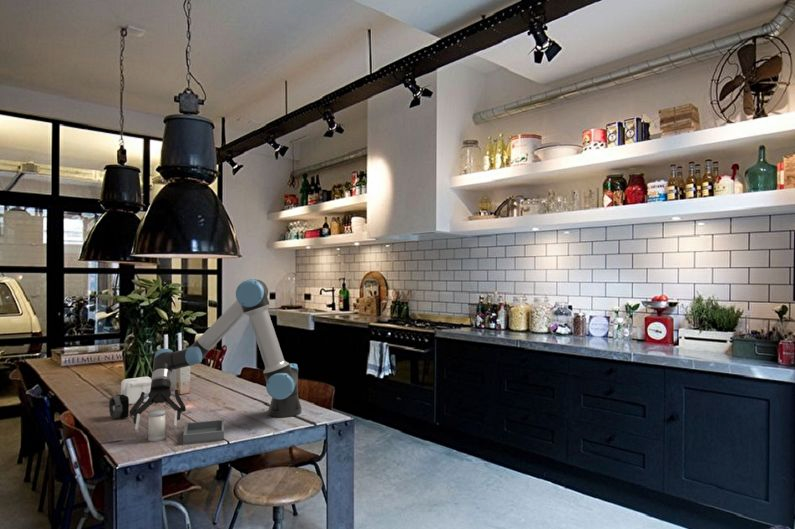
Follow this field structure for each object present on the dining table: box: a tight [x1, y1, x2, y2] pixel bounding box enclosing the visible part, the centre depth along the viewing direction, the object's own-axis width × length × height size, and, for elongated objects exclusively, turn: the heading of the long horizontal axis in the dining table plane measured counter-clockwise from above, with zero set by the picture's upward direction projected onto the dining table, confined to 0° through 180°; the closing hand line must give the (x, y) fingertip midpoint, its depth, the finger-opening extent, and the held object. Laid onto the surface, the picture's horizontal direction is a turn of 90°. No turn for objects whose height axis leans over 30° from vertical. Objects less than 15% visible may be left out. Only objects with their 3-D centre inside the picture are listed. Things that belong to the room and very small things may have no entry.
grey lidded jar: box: [147, 408, 166, 443], centre depth 193 cm, size 6×6×11 cm
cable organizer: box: [120, 376, 152, 405], centre depth 253 cm, size 15×11×12 cm
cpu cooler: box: [108, 394, 130, 420], centre depth 223 cm, size 10×6×10 cm, turn 46°
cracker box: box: [170, 366, 191, 395], centre depth 274 cm, size 14×6×21 cm, turn 46°
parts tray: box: [182, 419, 225, 445], centre depth 197 cm, size 15×17×4 cm
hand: (156, 428), depth 191 cm, fingers open, 13 cm apart
